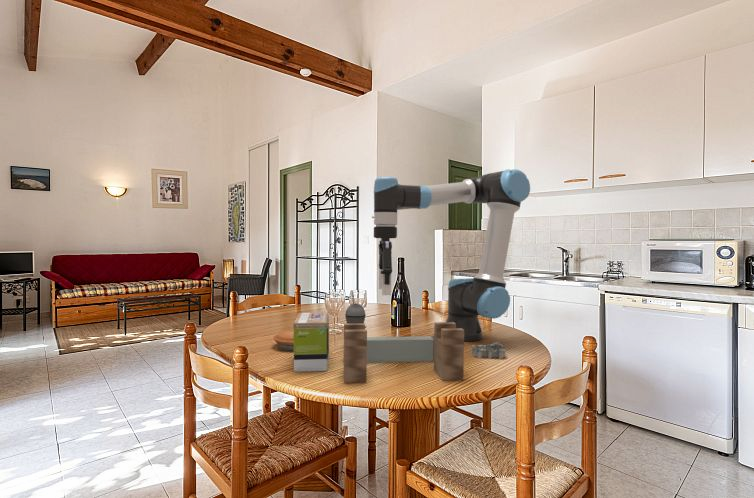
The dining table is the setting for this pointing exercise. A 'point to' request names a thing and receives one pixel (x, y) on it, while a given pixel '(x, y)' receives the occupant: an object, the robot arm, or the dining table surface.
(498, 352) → the egg carton
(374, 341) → the bed rail
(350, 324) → the posts
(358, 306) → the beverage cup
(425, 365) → the dining table surface
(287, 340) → the pie
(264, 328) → the dining table surface
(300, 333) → the tea box
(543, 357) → the dining table surface
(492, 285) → the robot arm
